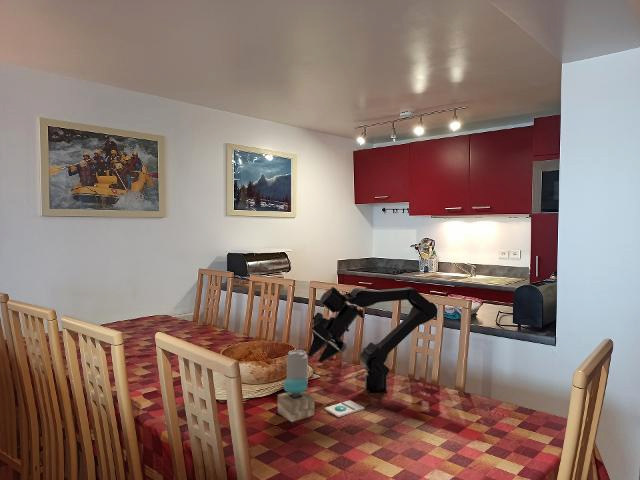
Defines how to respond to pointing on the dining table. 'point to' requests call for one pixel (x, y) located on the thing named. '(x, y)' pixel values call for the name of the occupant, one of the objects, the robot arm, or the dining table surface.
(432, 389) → the dining table surface
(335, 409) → the pattern card
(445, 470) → the dining table surface
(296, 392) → the button
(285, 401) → the marble textured cube
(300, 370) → the can
